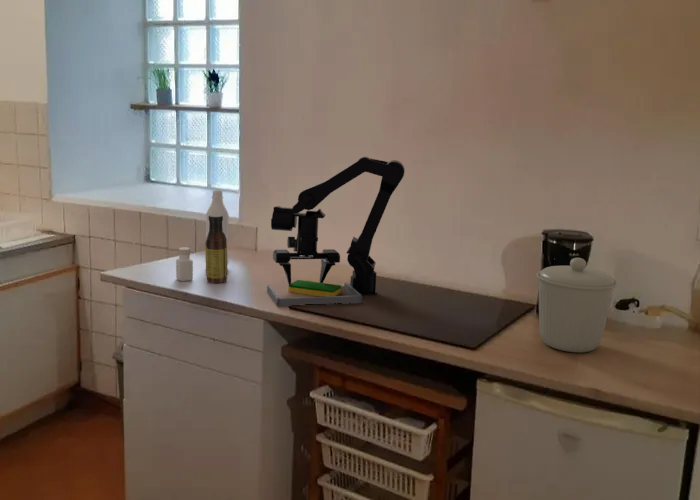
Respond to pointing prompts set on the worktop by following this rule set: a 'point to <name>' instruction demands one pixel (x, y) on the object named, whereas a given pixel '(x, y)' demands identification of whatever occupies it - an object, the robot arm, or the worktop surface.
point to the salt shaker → (184, 265)
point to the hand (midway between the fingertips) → (305, 285)
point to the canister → (574, 305)
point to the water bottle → (219, 209)
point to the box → (317, 298)
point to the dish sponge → (314, 288)
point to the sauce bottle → (216, 251)
